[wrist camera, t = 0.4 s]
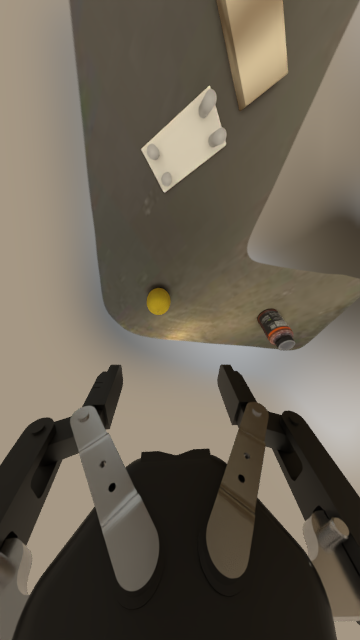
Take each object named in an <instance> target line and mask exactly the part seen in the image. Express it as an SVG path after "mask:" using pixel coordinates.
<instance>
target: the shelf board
mask: <svg viewBox="0 0 360 640" xmlns="http://www.w3.org/2000/svg"><path fill="white" fill-rule="evenodd" d="M216 1H217V6H218V11H219V15H220V20H221V25H222V30H223V35H224V39H225V44H226V49H227V54H228V58H229V63H230V68H231V73H232V78H233V82H234V87H235V92H236V97H237V102H238V106H239V111H241V110H242V109H244V108H245V107H246V106H247V105H249V104H250V103H251V102H252V101H254V100H255V99H256V98H257V97H259V96H260V95H261V94H262V93H264V92H265V91H266V90H267V89H269V88H270V87H271V86H272V85H274V84H275V83H276V82H277V81H279V80H280V79H281V78H282V77H284V76H285V75H286V74H287V73H288V66H287V52H286V39H285V25H284V12H283V0H216Z"/></svg>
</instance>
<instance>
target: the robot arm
mask: <svg viewBox="0 0 360 640" xmlns="http://www.w3.org/2000/svg"><path fill="white" fill-rule="evenodd" d="M122 385H123V377H122V368H121V365H111V366H110V367H109V369H108V372H102V373H101V374H100V375H99V376H98V377H97V379H96V381H95V383H94V385H93V387H92V389H91V391H90V393H89V395H88V397H87V399H86V401H85V403H84V405H83V406H82V408H80V409H78V410H77V411H75V412H74V413H73V415H72V416H71V417H69V418H66V419H62V420H59V421H56V422H54V421H53V420H52V419H51V418H41V419H39V420H36V421H35V422H33V423H31V424H30V425H29V426H28V427H27V428H26V429H25V430H24V432H23V433H22V434H21V436H20V437H19V439H18V440H17V442H16V443H15V445H14V446H13V448H12V449H11V450H10V452H9V453H8V455H7V456H6V458H5V459H4V461H3V462H2V464H1V465H0V640H337V637H336V632H335V626H334V621H356V622H357V623H358V624H359V625H360V497H359V496H358V494H357V493H356V492H355V490H354V489H353V487H352V486H351V485H350V483H349V482H348V480H347V479H346V478H345V476H344V475H343V473H342V472H341V471H340V469H339V468H338V466H337V465H336V464H335V462H334V461H333V459H332V458H331V457H330V455H329V454H328V453H327V451H326V450H325V448H324V447H323V445H322V444H321V443H320V441H319V440H318V438H317V437H316V436H315V434H314V433H313V431H312V430H311V429H310V427H309V426H308V424H307V423H306V422H305V420H304V419H303V418H302V417H301V416H300V415H298V414H297V413H295V412H292V411H284V412H283V413H282V415H279V414H275V413H271V412H269V411H267V409H266V408H265V407H264V406H263V405H261V404H260V403H257V401H256V400H255V398H254V396H253V394H252V393H251V391H250V389H249V387H248V386H247V384H246V382H245V380H244V379H243V377H242V375H241V374H240V373H238V372H237V371H234V370H233V369H232V367H231V365H221V366H220V369H219V375H218V387H219V390H220V393H221V396H222V398H223V401H224V404H225V407H226V409H227V412H228V415H229V417H230V421H231V423H232V425H238V427H239V430H238V433H237V436H236V439H235V442H234V445H233V448H232V451H231V454H230V457H229V461H228V463H227V464H226V463H225V462H224V461H223V460H221V459H220V458H218V457H216V456H213V455H210V450H209V449H193V450H190V451H188V452H185V453H182V454H179V455H172V454H168V453H164V452H159V451H153V452H142V454H141V458H140V459H137V460H136V461H134V462H132V463H131V464H129V465H128V466H127V467H126V468H125V466H124V464H123V462H122V460H121V458H120V456H119V453H118V451H117V449H116V447H115V445H114V443H113V441H112V439H111V437H110V435H109V433H107V432H106V430H105V429H110V426H111V423H112V419H113V416H114V413H115V410H116V406H117V403H118V400H119V396H120V393H121V390H122ZM265 446H266V447H270V448H272V449H273V452H274V454H275V456H276V458H277V460H278V462H279V465H280V467H281V469H282V471H283V473H284V476H285V478H286V480H287V482H288V484H289V487H290V489H291V491H292V493H293V495H294V497H295V499H296V501H297V504H298V506H299V508H300V510H301V513H302V515H303V517H304V519H305V522H304V525H303V535H304V539H305V542H306V545H307V548H308V556H307V554H306V552H305V551H304V550H303V549H302V547H301V546H300V545H299V544H298V543H297V541H296V540H295V539H294V538H293V537H292V536H291V535H290V534H289V533H288V532H287V530H286V529H285V528H284V527H283V526H282V525H281V524H280V522H279V521H278V520H277V519H276V518H275V517H274V516H273V515H272V513H271V512H270V511H269V510H268V509H267V508H266V507H265V506H264V505H263V504H262V502H261V501H260V500H259V499H258V498H257V495H258V489H259V483H260V477H261V470H262V465H263V458H264V452H265ZM78 453H79V454H80V458H81V462H82V465H83V468H84V471H85V475H86V478H87V481H88V485H89V488H90V492H91V495H92V498H93V501H94V505H95V507H94V508H93V510H92V511H91V512H90V514H89V515H88V516H87V517H86V519H85V520H84V521H83V522H82V524H81V525H80V526H79V528H78V529H77V530H76V532H75V533H74V534H73V536H72V537H71V538H70V539H69V541H68V542H67V543H66V545H65V546H64V547H63V549H62V550H61V551H60V552H59V554H58V555H57V556H56V558H55V559H54V560H53V562H52V563H51V564H50V566H49V567H48V568H47V569H46V571H45V572H44V573H43V575H42V576H41V578H40V579H39V581H38V582H37V584H36V585H35V587H34V589H33V591H32V592H31V594H30V595H28V593H27V580H28V575H29V572H30V569H31V565H32V554H31V551H30V550H29V549H28V548H27V547H26V545H27V542H28V540H29V538H30V535H31V533H32V531H33V528H34V525H35V523H36V521H37V519H38V516H39V514H40V512H41V509H42V507H43V504H44V502H45V500H46V497H47V495H48V492H49V490H50V488H51V485H52V483H53V481H54V478H55V476H56V473H57V471H58V469H59V466H60V464H61V462H62V459H65V458H67V457H70V456H72V455H75V454H78Z"/></svg>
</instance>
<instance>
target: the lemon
mask: <svg viewBox="0 0 360 640" xmlns="http://www.w3.org/2000/svg"><path fill="white" fill-rule="evenodd" d="M147 306H148V309H149V310H150V312H152V313H153V314H156V315H161V314H164V313H165V312H166V311H167V310H168V309H169V306H170V296H169V294H168V292H167V291H166V290H164V289H162V288H155V289H153V290H152V291H151V292H150V293H149V294H148V297H147Z"/></svg>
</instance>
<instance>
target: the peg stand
mask: <svg viewBox="0 0 360 640" xmlns="http://www.w3.org/2000/svg"><path fill="white" fill-rule="evenodd" d="M216 100H217V97H216V93H215V91H214V90H213V89H211V87H210V85H209V86H208V87H207V88H206V89H205V90H204V91H203V92H202V93H201V94H200V95H199V96H198V97H197V98H196V99H194V100H193V101H192V102H191V103H190V104H189V105H188V106H187V107H186V108H185V109H184V110H183V111H182V112H180V113H179V114H178V115H177V116H176V117H175V118H174V119H173V120H172V121H171V122H170V123H169V124H168V125H167V126H165V127H164V128H163V129H162V130H161V131H160V132H159V133H158V134H157V135H156V136H155V137H154V138H153V139H151V140H150V141H149V142H148V143H147V144H146V145H145V146H144V147H143V148H142V149H141V150H142V152H143V154H144V156H145V158H146V160H147V161H148V163H149V165H150V167H151V169H152V171H153V173H154V175H155V176H156V178H157V180H158V182H159V184H160V186H161V188H162V190H163V192H164V193H165V192H166V191H168V190H169V189H170V188H171V187H173V186H174V185H175V184H177V183H178V182H179V181H180V180H182V179H183V178H184V177H186V176H187V175H188V174H189V173H191V172H192V171H193V170H195V169H196V168H197V167H198V166H200V165H201V164H202V163H204V162H205V161H206V160H207V159H209V158H210V157H211V156H213V155H214V154H215V153H216V152H218V151H219V150H220V149H222V148H223V147H224V146H225V145H226V141H225V140H226V136H227V134H226V130H225V129H224V128H222V127H221V123H220V120H219V116H218V113H217V109H216V105H215V104H216Z"/></svg>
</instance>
